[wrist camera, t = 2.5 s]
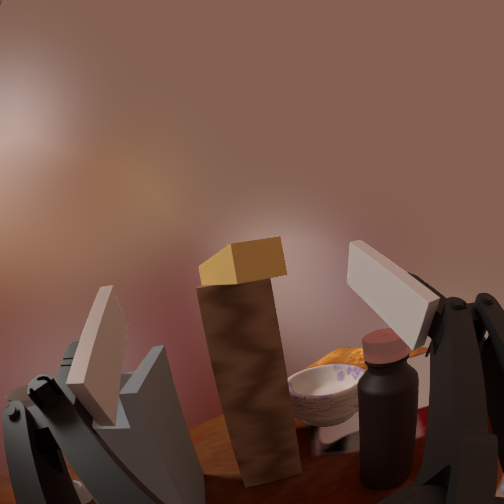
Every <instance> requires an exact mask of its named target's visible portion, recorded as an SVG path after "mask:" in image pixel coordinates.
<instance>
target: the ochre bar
mask: <svg viewBox="0 0 504 504" xmlns="http://www.w3.org/2000/svg"><path fill="white" fill-rule="evenodd" d="M199 271H200V278H201V283H202V285H228V284H241V283H246V282H252V281H257V280H262V279H267V278H273V277H278V276H283V275H287V271H286V265H285V260H284V254H283V249H282V245H281V239H280V237H274V238H267V239H260V240H253V241H246V242H239V243H233V244H229V245H228V246H227V247H225V248H224V249H222V250H221V251H219V252H218V253H217V254H216V255H214V256H213V257H211V258H210V259H208V260H207V261H205V262H204V263H203V264H201V265H200V266H199Z"/></svg>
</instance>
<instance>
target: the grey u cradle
mask: <svg viewBox="0 0 504 504" xmlns="http://www.w3.org/2000/svg"><path fill="white" fill-rule="evenodd" d="M92 427H93V428H94V429H95V430H96V432H97V433H98V434H99V435H100V437H101V438H102V439H103V440H104V442H105V443H106V444H107V445H108V446H109V448H110V449H111V450H112V451H113V452H114V453H115V455H116V456H117V457H118V458H119V459H120V460H121V461H122V462H123V464H124V465H125V466H126V467H127V468H128V469H129V470H130V471H131V472H132V473H133V474H134V475H135V476H136V477H137V478H138V479H139V480H140V481H141V482H142V483H143V484H144V485H145V486H146V487H147V488H148V489H149V490H150V491H151V492H152V493H153V494H155V495H156V496H157V497H158V498H159V499H160V500H161V501H162V502H164V503H165V504H206V500H205V485H204V473H203V471H202V468H201V465H200V463H199V460H198V457H197V455H196V452H195V449H194V446H193V443H192V441H191V438H190V435H189V432H188V429H187V426H186V423H185V420H184V416H183V413H182V410H181V406H180V403H179V400H178V396H177V392H176V389H175V386H174V382H173V378H172V374H171V370H170V367H169V362H168V358H167V355H166V350H165V346H164V345H163V346H155V347H153V348H152V349H151V350H150V352H149V353H148V354H147V356H146V357H145V358H144V360H143V361H142V362H141V364H140V365H139V367H138V368H137V369H136V371H134V372H124V373H121V380H120V388H119V397H118V407H117V418H116V426H99V425H98V424H97V423H96V421H95V420H94V419H93V424H92ZM81 481H82V480H81ZM83 484H84V483H83ZM84 486H85V485H84ZM85 487H86V486H85ZM86 489H87V487H86ZM87 490H88V489H87ZM88 492H89V493H90V491H89V490H88ZM90 495H91V497H92V498H93V500H94V501H95V502H96V504H99V503H98V501H97V500H96V499H95V498H94V496H93V495H92V494H91V493H90Z"/></svg>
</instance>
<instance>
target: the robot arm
mask: <svg viewBox="0 0 504 504" xmlns="http://www.w3.org/2000/svg"><path fill="white" fill-rule="evenodd" d="M1 2H2V0H0V4H1ZM347 284H348V285H349V286H350V287H351V288H352V289H353V290H354V291H355V292H356V293H357V294H358V295H359V296H360V297H361V298H362V299H363V300H364V301H366V303H367V304H368V305H369V306H370V307H371V308H372V309H373V310H374V311H375V312H376V313H377V314H378V315H379V316H380V317H381V318H382V319H383V320H384V321H385V322H386V323H387V324H388V325H389V326H390V327H391V328H392V329H393V330H394V331H395V332H396V334H397V335H398V336H399V337H400V338H401V339H402V340H403V341H404V342H405V343H406V344H407V345H408V346H409V347H410V348H411V349H412V350H413V351H414V350H416V349H417V348H419V347H421V346H423V345H424V344H425V341H426V338H427V336H429V337H430V338H431V339H432V341H431V343H430V345H429V348H428V350H427V352H426V356H425V357H427V356H428V354H429V353H430V394H429V411H428V422H427V432H426V440H425V448H424V454H423V460H422V465H421V468H420V470H419V472H418V474H417V476H416V478H415V480H414V483H413V487H412V488H411V487H410V485H407V486H405V487H404V488H402V489H400V490H398V491H397V492H395V493H393V494H391V495H390V496H388V497H386V498H384V499H382V500H381V501H379V502H378V503H377V504H504V498H503V497H495V494H496V484H497V469H498V457H499V461H500V464H501V467H502V470H503V473H504V310H503V309H502V307H501V306H500V304H499V303H498V302H497V300H496V299H495V298H494V297H493V296H491V295H490V294H487V293H480V294H478V295H477V297H476V300H475V303H468V304H467V303H466V302H465V301H464V300H462V299H460V298H456V297H450V298H445V297H444V296H443V295H442V294H440V293H439V292H437V291H436V290H435V289H434V288H432V287H431V286H429V285H428V284H427V283H426V282H424V281H423V280H422V279H420V278H419V277H418V276H416V275H413V274H411V273H407V272H406V271H404V270H403V269H401V268H400V267H399V266H397V265H396V264H395V263H393V262H392V261H390V260H389V259H388V258H386V257H385V256H383V255H382V254H380V253H379V252H378V251H376V250H375V249H373V248H372V247H370V246H369V245H367V244H366V243H364V242H363V241H362V240H357V241H353V242H350V248H349V262H348V274H347ZM128 328H129V326H128V324H127V321H126V319H125V316H124V313H123V311H122V309H121V306H120V303H119V301H118V298H117V295H116V292H115V289H114V286H113V285H110V286H105V287H100V290H99V292H98V294H97V296H96V299H95V301H94V303H93V306H92V308H91V311H90V314H89V316H88V319H87V321H86V324H85V327H84V329H83V332H82V335H81V338H80V341H78V342H72V343H71V344H70V345H69V347H68V348H67V349H66V352H65V354H64V357H63V360H62V363H61V367H60V368H59V371H58V374H57V377H56V380H54V378H52V376H51V375H49V374H40V375H38V376H36V377H35V378H34V379H32V380H31V382H30V383H29V385H28V388H27V395H28V396H29V397H30V399H31V400H32V401H33V402H34V403H35V405H34V406H31V407H27V408H26V407H25V406H24V405H23V404H22V403H21V402H20V401H17V400H15V401H12V402H10V403H9V404H7V405H6V407H5V408H4V410H3V413H2V422H3V434H4V442H5V450H6V457H7V463H8V469H9V474H10V479H11V483H12V488H13V492H14V496H15V499H16V503H17V504H81V501H80V499H79V497H78V495H77V492H76V490H75V487H74V485H73V482H72V480H71V477H70V475H69V472H68V469H67V466H66V463H65V460H64V457H63V454H62V452H63V453H64V455H65V456H66V458H67V460H68V461H69V463H70V464H71V466H72V467H73V469H74V470H75V472H76V473H77V475H78V476H79V478H80V479H81V480H82V482H83V483H84V485H85V486H86V487H87V489H88V490H89V491H90V493H91V494H92V495H93V496H94V498H95V499H96V500H97V501H98V503H99V504H165V503H164V502H162V501H161V500H160V499H159V498H158V497H157V496H156V495H155V494H153V493H152V492H151V491H150V490H149V489H148V488H147V487H146V486H145V485H144V484H143V483H142V482H141V481H140V480H139V479H138V478H137V477H136V476H135V475H134V474H133V473H132V472H131V471H130V470H129V469H128V468H127V467H126V466H125V465H124V464H123V462H122V461H121V460H120V459H119V458H118V457H117V456H116V455H115V453H114V452H113V451H112V450H111V449H110V448H109V446H108V445H107V444H106V443H105V442H104V440H103V439H102V438H101V437H100V435H99V434H98V433H97V432H96V430H95V429H94V428H93V427H92V424H93V419H94V420H95V421H96V423H97V424H98V425H99V426H116V418H117V407H118V397H119V388H120V380H121V372H122V364H123V358H124V352H125V346H126V339H127V334H128ZM486 331H488V334H489V336H488V338H487V339H485V337H484V335H485V333H486ZM487 413H488V416H489V420H490V423H491V427H492V431H493V434H490V433H489V432H488V416H487ZM61 450H62V451H61ZM501 492H502V493H503V494H504V482H503V483H502V485H501Z"/></svg>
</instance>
